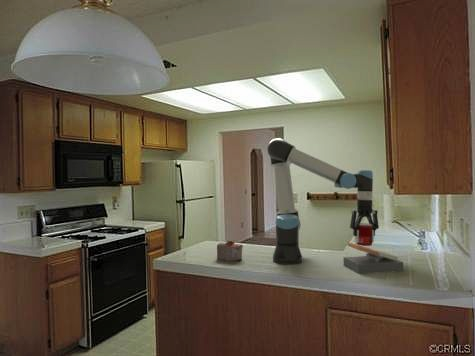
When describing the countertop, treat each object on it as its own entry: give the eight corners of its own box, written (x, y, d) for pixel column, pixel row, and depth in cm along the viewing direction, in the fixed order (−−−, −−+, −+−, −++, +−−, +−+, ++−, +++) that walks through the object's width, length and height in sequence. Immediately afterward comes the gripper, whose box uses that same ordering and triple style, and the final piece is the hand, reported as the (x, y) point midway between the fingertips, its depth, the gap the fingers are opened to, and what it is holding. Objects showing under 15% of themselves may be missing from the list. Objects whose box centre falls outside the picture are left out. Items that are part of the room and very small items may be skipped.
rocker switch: (358, 251, 147) (359, 246, 147) (347, 247, 157) (348, 242, 157) (396, 262, 150) (397, 257, 150) (383, 256, 160) (384, 252, 160)
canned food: (373, 246, 168) (373, 225, 168) (357, 245, 170) (357, 224, 170) (370, 243, 176) (370, 223, 176) (355, 242, 177) (355, 222, 177)
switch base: (358, 273, 145) (358, 260, 145) (343, 265, 159) (343, 253, 159) (403, 271, 149) (403, 257, 149) (384, 263, 162) (384, 251, 162)
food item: (244, 259, 174) (244, 240, 174) (239, 262, 166) (239, 243, 166) (221, 257, 178) (221, 239, 178) (215, 260, 171) (215, 241, 171)
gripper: (350, 199, 167) (349, 243, 167) (386, 199, 171) (386, 243, 171) (343, 198, 175) (342, 241, 175) (378, 198, 178) (377, 240, 178)
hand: (364, 242), depth 173 cm, fingers closed on canned food, 8 cm apart
